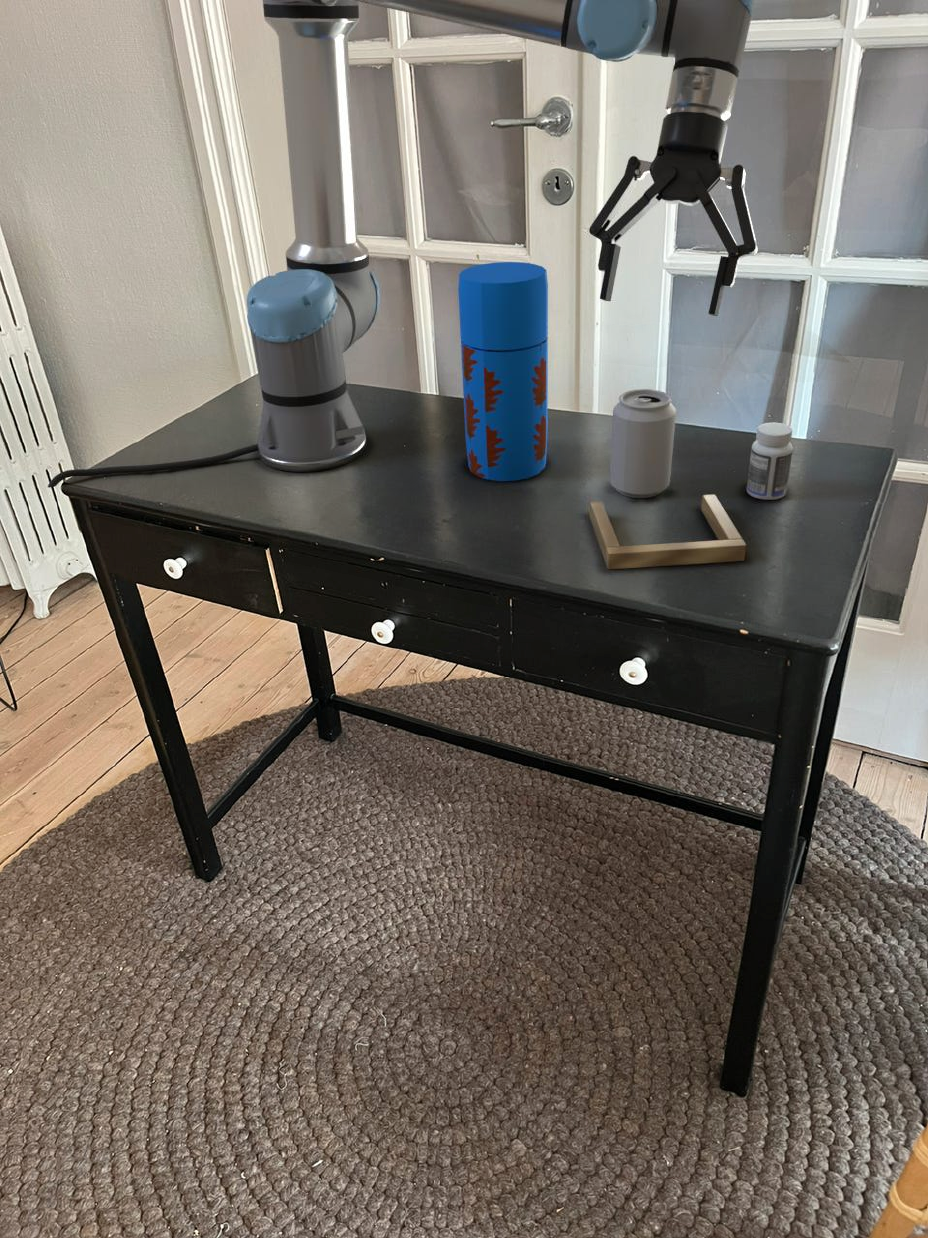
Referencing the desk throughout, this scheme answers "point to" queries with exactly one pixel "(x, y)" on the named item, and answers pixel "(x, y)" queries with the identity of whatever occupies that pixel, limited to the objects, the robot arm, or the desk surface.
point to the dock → (673, 553)
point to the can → (642, 443)
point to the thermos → (505, 368)
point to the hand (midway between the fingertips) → (657, 307)
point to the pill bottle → (770, 461)
